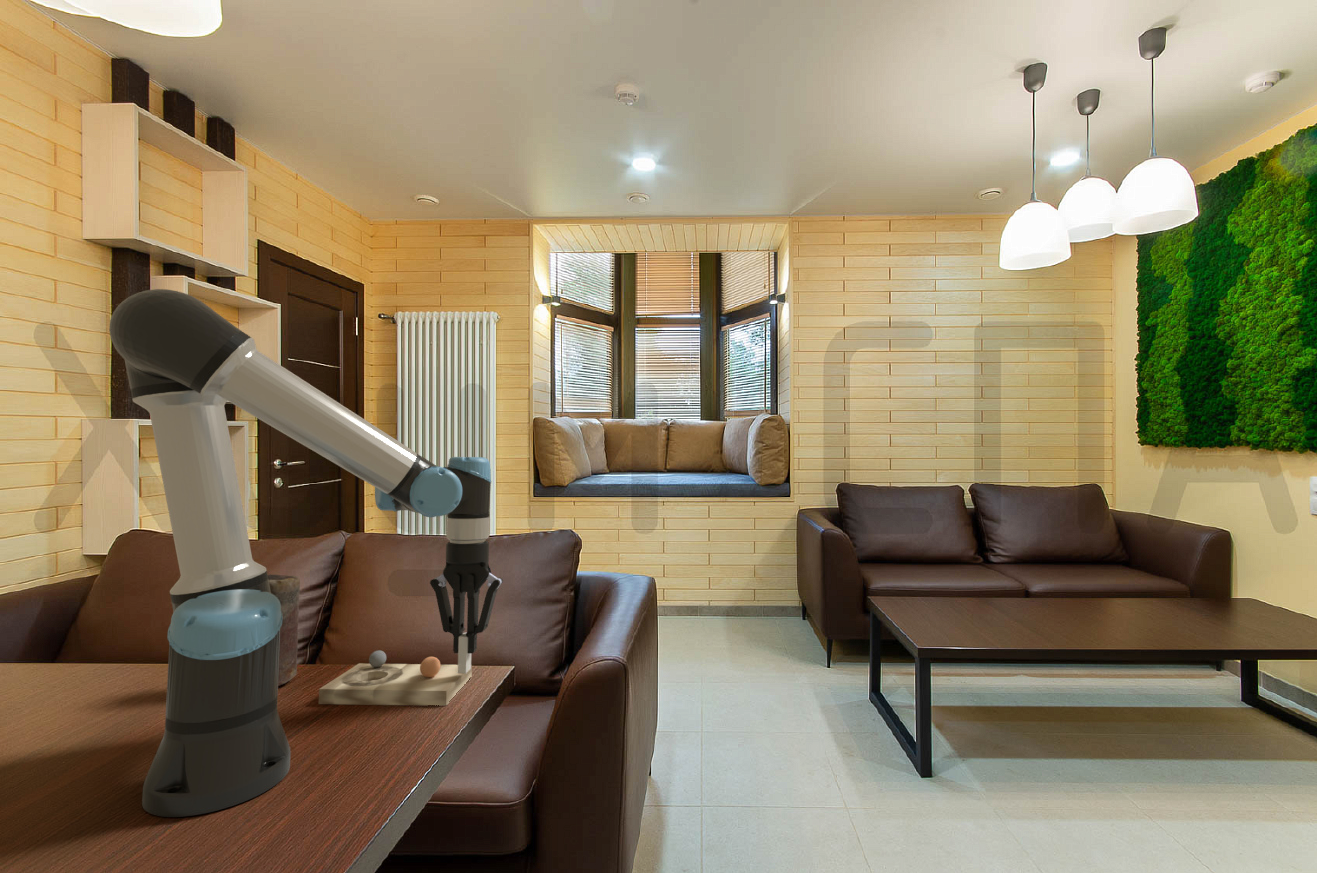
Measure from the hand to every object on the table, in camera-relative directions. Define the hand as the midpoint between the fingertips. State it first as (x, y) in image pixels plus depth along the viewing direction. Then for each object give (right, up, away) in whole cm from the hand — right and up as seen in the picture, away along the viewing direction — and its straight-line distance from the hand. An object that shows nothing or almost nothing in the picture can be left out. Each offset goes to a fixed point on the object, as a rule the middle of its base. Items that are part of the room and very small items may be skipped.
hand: (464, 670), depth 106 cm
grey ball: (-18, 0, +5) cm, 19 cm away
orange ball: (-6, +1, 0) cm, 6 cm away
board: (-12, -4, 0) cm, 12 cm away
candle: (-37, -4, +3) cm, 37 cm away
